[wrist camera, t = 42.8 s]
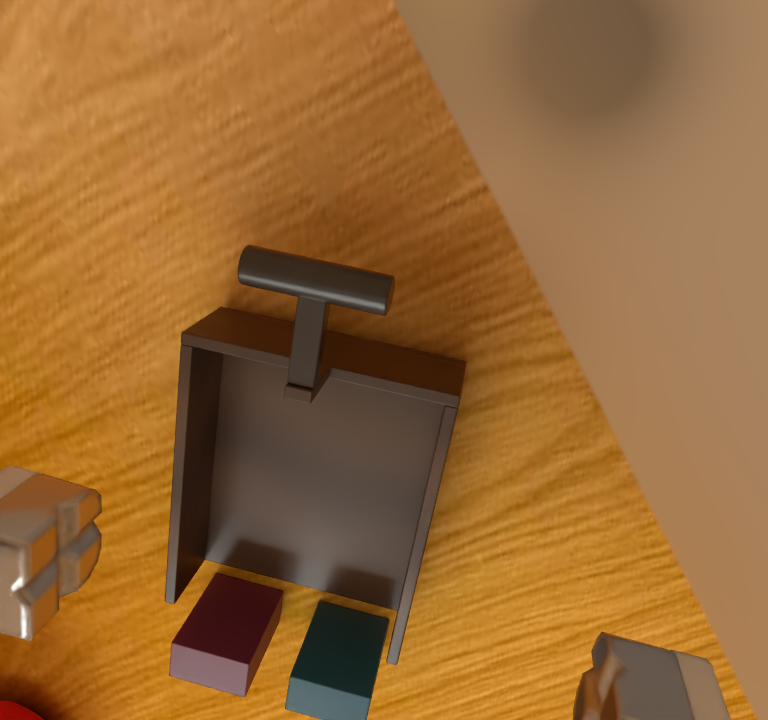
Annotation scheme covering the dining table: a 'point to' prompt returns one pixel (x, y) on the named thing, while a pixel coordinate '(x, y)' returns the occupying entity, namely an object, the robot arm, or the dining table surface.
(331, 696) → the teal packet
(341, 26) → the dining table surface
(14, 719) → the tomato
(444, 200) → the dining table surface
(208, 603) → the block
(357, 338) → the dark brown open tray
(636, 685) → the robot arm
